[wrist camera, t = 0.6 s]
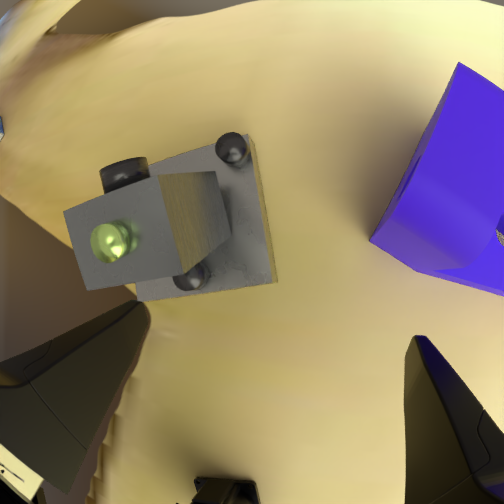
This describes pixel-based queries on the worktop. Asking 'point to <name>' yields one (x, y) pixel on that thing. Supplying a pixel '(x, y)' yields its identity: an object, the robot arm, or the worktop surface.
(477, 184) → the bracket
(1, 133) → the medicine box
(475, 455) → the robot arm
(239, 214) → the plate
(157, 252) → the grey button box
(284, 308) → the worktop surface
